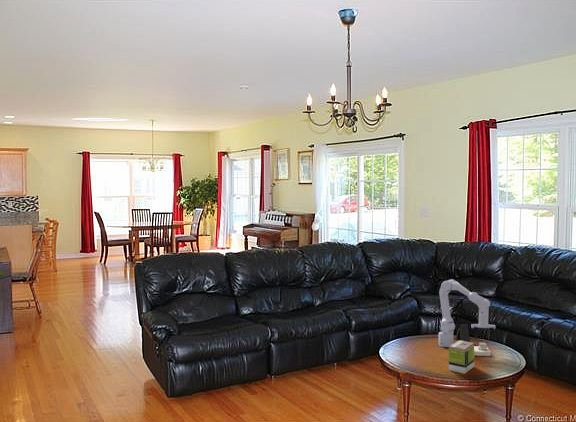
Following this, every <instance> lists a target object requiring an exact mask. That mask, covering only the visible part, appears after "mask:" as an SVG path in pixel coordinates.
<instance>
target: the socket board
mask: <svg viewBox="0 0 576 422" xmlns="http://www.w3.org/2000/svg"><path fill="white" fill-rule="evenodd" d="M491 356H492V351H491V350H490V349H489V348H488V347H487V351H485V350H479V345H478V346H477V345H476V346H475V345H474V357H491Z"/></svg>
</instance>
